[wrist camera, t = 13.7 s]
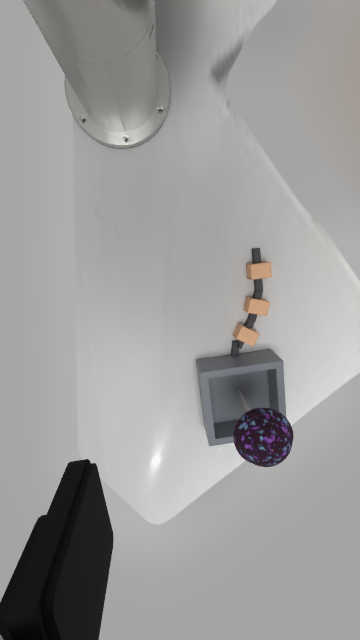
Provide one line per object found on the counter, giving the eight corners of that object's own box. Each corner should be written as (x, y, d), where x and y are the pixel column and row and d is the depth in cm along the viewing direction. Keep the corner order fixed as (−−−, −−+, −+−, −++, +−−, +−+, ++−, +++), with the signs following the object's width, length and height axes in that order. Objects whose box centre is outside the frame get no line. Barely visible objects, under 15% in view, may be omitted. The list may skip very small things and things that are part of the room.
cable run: (249, 246, 43) (254, 246, 41) (275, 250, 44) (281, 251, 42) (228, 354, 47) (232, 359, 45) (252, 357, 47) (257, 362, 45)
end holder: (196, 359, 47) (200, 372, 42) (270, 349, 47) (282, 360, 42) (204, 426, 49) (209, 446, 45) (274, 415, 50) (287, 434, 45)
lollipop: (261, 369, 47) (307, 424, 32) (258, 410, 48) (301, 480, 34) (216, 370, 46) (243, 426, 32) (214, 411, 48) (239, 483, 33)
